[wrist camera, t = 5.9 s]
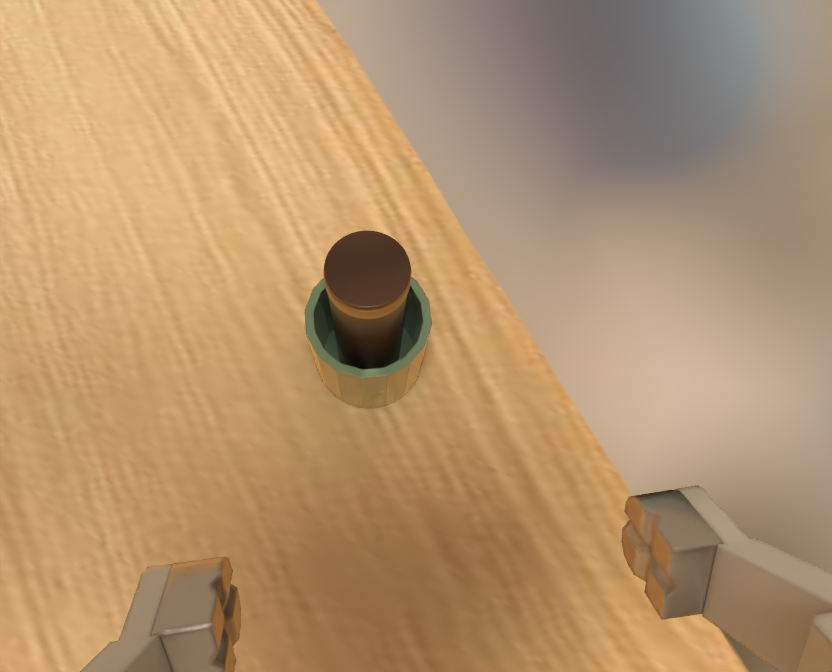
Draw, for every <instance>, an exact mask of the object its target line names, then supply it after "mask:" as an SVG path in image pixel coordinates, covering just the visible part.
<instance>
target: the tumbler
mask: <svg viewBox="0 0 832 672" xmlns="http://www.w3.org/2000/svg"><path fill="white" fill-rule="evenodd" d="M305 324H306V335H307V338H308V341H309V344H310V348H311V351H312V354H313V357H314V360H315V364H316V367H317V370H318V372H319V374H320V376H321V378H322V381H323V382H324V384H325V386H326V387H327V388H328V390H329V391H330V392H331V393H332V394H333V395H334V396H335V397H337V398H338V399H340V400H341V401H343V402H345V403H347V404H349V405H352V406H356V407H360V408H377V407H382V406H386V405H389V404H391V403H393V402H395V401H397V400H398V399H400V398H401V397H402V396H404V395H405V394H406V393H407V392H408V391H409V390H410V388H411V387H412V386H413V384H414V383H415V381H416V380H417V377H418V374H419V371H420V367H421V364H422V360H423V356H424V352H425V349H426V345H427V341H428V337H429V333H430V329H431V325H432V320H431V312H430V305H429V300H428V298H427V297H426V295H425V293H424V292H423V290H422V288H421V287H420V285H419V283H418V282H417V281H416V280H415V279H414V278H413V277H411V281H410V287H409V291H408V296H407V303H406V311H405V318H404V326H403V334H402V341H401V349H400V356H399V360H398V361H396V362H394V363H392V364H390V365H388V366H386V367H383V368H372V369H360V368H356V367H353V366H349V365H346V364H342V363H341V362H340V359H339V353H338V348H337V342H336V337H335V331H334V326H333V320H332V314H331V309H330V303H329V298H328V294H327V291H326V287H325V281H324V278H323V279H322V280H321V281H320V282H319V283H318V284H317V285H316V286H315V288H314V289H313V290H312V293H311V296H310V298H309V301H308V304H307V306H306V309H305Z"/></svg>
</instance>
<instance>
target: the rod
mask: <svg viewBox="0 0 832 672" xmlns="http://www.w3.org/2000/svg"><path fill="white" fill-rule="evenodd" d="M324 281H325V287H326V291H327V294H328V298H329V303H330V309H331V314H332V320H333V326H334V331H335V337H336V342H337V348H338V353H339V359H340V362H341V363H342V364H346V365H349V366H353V367H356V368H360V369H372V368H383V367H386V366H388V365H390V364H392V363H394V362H396V361H398V360H399V356H400V349H401V341H402V334H403V326H404V318H405V311H406V303H407V296H408V291H409V287H410V281H411V266H410V262H409V258H408V256H407V254H406V252H405V250H404V249H403V247H402V246H401V245H400V244H399V243H398V242H397V241H396V240H394V239H393V238H391V237H390V236H388V235H385V234H383V233H380V232H375V231H359V232H355V233H351V234H349V235H347V236H345V237H343V238H342V239H340V240H339V241H338V242H336V243H335V244H334V246H333V247H332V248H331V249H330V251H329V252H328V255H327V257H326V260H325V264H324Z"/></svg>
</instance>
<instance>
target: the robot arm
mask: <svg viewBox="0 0 832 672" xmlns="http://www.w3.org/2000/svg"><path fill="white" fill-rule="evenodd" d="M625 513H626V515H627V516H628V518H629V519H630V520H629V521H628V522H627V524H626V525H625V526H624V527H623V528H622V546H623V552H624V556H625V558H626V561H627V563H628V565H629V567H630V569H631V570H632V572H633V574H634V575H636V576H637V577H639V578H641V579H642V580H644V581H646V586H645V594H646V595H647V597H648V598H649V600H650V602H651V603H652V605H653V607H654V608H655V610H656V611H657V613H658V615H659V616H660V618H661V619H669V618H676V617H683V616H690V615H697V614H703V617H705V618H706V619H707V620H709V621H710V622H712V623H713V624H714V625H716V626H717V627H718V628H720V629H721V630H723V631H724V632H725V633H727V634H728V635H729V636H731V637H732V638H734V639H735V640H737V641H738V642H739V643H741V644H742V645H743V646H745V647H746V648H747V649H749V650H750V651H751V652H753V653H754V654H756V655H757V656H758V657H760V658H761V659H762V660H764V661H765V662H767V663H768V664H769V665H771V666H772V667H773V668H775V669H776V670H778V671H779V672H832V574H830V573H828V572H826V571H824V570H822V569H820V568H817V567H815V566H813V565H811V564H809V563H807V562H805V561H803V560H801V559H799V558H796V557H794V556H792V555H790V554H788V553H786V552H784V551H782V550H779V549H777V548H775V547H773V546H771V545H769V544H767V543H765V542H762V541H760V540H758V539H751V540H750V539H749V538H748V537H747V536H746V535H745V534H744V533H743V532H742V531H741V529H740V528H739V527H738V526H737V525H736V524H735V523H734V522H733V521H732V520H731V519H730V517H729V516H728V515H727V514H726V513H725V512H724V511H723V509H722V508H721V507H720V506H719V505H718V504H717V503H716V502H715V501H714V500H713V498H712V497H711V496H710V495H709V494H708V493H707V492H706V491H705V490H704V489H703V488H702V487H700V486H691V487H685V488H679V489H675V490H668V491H661V492H655V493H649V494H642V495H636V496H630V497H629V498H628V499H627V501H626V505H625ZM232 572H233V570H232V567H231V564H230V560H229V558H227V557H220V558H212V559H204V560H196V561H188V562H180V563H174V564H169V565H161V566H152V567H147V568H146V569H145V571H144V572H143V573H142V575H141V578H140V580H139V583H138V586H137V589H136V592H135V595H134V598H133V600H132V603H131V606H130V609H129V612H128V615H127V618H126V620H125V623H124V626H123V629H122V632H121V635H120V638H119V640H118V641H115V642H110V643H109V644H108V645H107V646H106V647H105V648H104V649H103V650H102V651H101V652H100V653H99V654H98V655H96V656H95V657H94V658H93V659H92V660H91V661H90V662H89V663H88V664H87V665H86V666H85V667H84V668H83V669H82V670H81V671H80V672H234V671H235V664H236V658H235V654H234V651H233V646H234V644H235V643H236V642H237V641H238V640H239V635H240V627H241V606H240V598H239V594H238V590H237V587H235V586H234V585H232V584H231V579H232Z"/></svg>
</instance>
